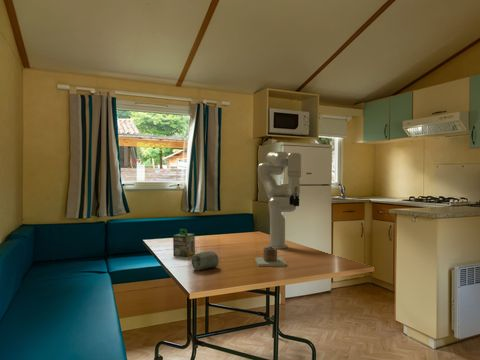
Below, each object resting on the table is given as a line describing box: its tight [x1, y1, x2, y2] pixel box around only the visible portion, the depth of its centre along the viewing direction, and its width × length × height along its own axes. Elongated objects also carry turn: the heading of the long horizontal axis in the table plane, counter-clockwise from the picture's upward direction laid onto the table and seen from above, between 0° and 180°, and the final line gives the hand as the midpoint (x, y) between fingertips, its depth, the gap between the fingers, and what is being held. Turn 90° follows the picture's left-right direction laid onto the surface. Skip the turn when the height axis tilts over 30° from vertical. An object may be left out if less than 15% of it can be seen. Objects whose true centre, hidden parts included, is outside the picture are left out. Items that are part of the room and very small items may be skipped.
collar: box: [263, 246, 278, 262], centre depth 176 cm, size 6×6×6 cm
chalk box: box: [172, 228, 196, 258], centre depth 195 cm, size 9×9×15 cm
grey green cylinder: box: [190, 250, 219, 272], centre depth 163 cm, size 14×10×10 cm
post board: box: [254, 245, 287, 267], centre depth 176 cm, size 14×14×8 cm
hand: (294, 205), depth 192 cm, fingers open, 9 cm apart
